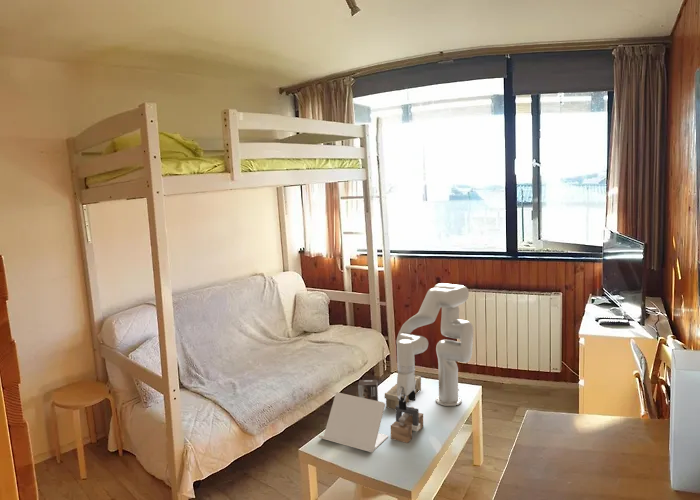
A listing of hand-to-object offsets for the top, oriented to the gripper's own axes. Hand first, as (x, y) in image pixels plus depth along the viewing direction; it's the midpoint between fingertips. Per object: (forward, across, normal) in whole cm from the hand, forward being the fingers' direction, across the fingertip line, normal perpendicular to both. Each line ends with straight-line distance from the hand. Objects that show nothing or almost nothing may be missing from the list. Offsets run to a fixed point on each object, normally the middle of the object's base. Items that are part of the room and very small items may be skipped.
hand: (407, 404), depth 231 cm
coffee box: (+13, -8, -24) cm, 28 cm away
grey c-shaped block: (+10, +1, 0) cm, 10 cm away
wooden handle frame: (+13, +1, 0) cm, 13 cm away
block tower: (+14, -31, -17) cm, 38 cm away
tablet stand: (+13, +17, -18) cm, 28 cm away
